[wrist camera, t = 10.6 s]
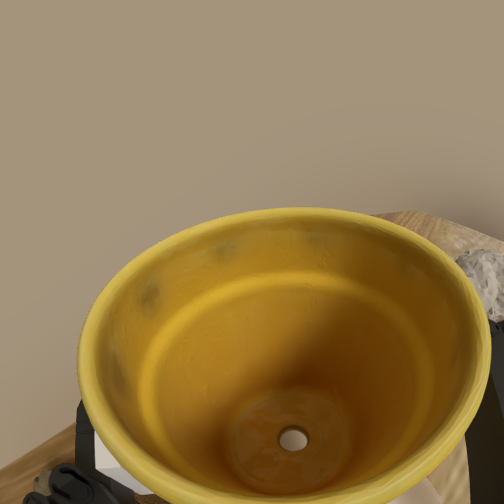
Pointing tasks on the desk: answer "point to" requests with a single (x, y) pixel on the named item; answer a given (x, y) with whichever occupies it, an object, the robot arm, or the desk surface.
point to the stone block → (42, 483)
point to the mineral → (486, 279)
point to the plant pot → (285, 359)
